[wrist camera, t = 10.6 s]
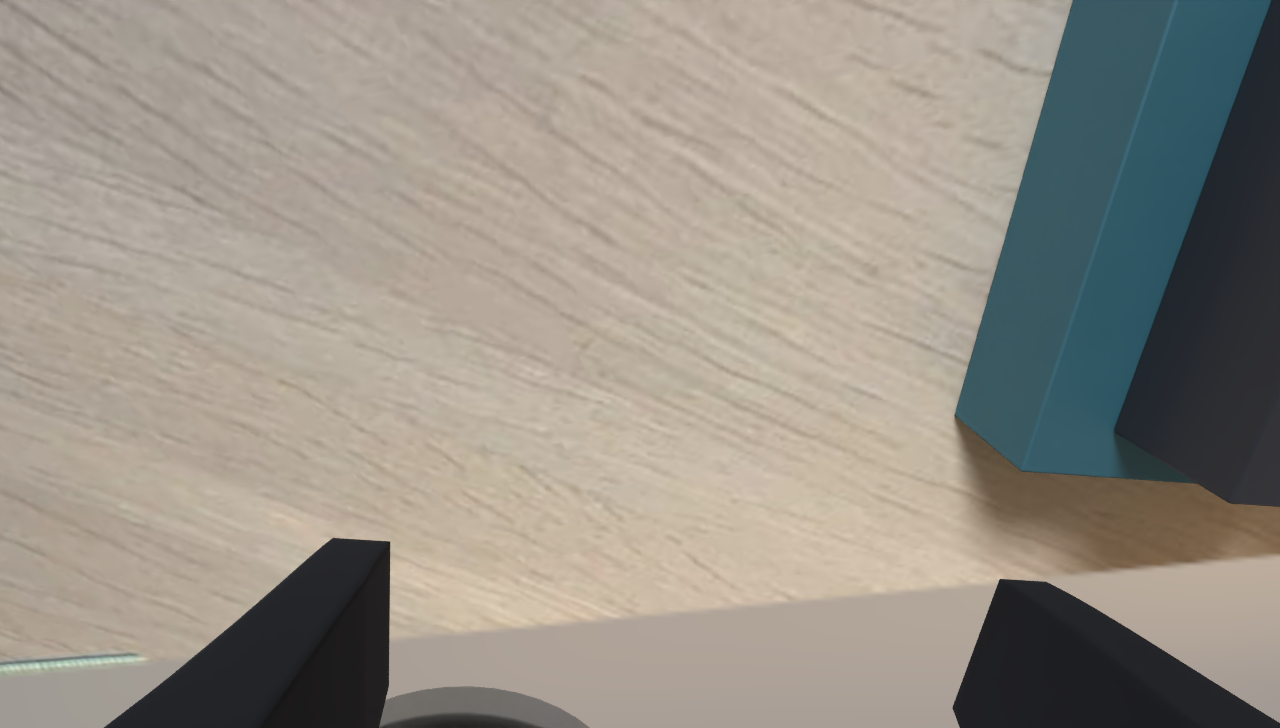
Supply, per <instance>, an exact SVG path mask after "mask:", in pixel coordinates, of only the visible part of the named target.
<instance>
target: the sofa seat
mask: <svg viewBox="0 0 1280 728" xmlns="http://www.w3.org/2000/svg"><path fill="white" fill-rule="evenodd" d="M1271 1H1272V0H1073V3H1072V7H1071V10H1070V14H1069V17H1068V21H1067V24H1066V28H1065V31H1064V35H1063V38H1062V42H1061V45H1060V49H1059V52H1058V56H1057V59H1056V63H1055V66H1054V70H1053V73H1052V77H1051V80H1050V84H1049V87H1048V91H1047V94H1046V98H1045V101H1044V105H1043V108H1042V112H1041V115H1040V119H1039V122H1038V126H1037V129H1036V133H1035V136H1034V140H1033V143H1032V147H1031V150H1030V154H1029V157H1028V161H1027V164H1026V168H1025V171H1024V175H1023V178H1022V182H1021V185H1020V189H1019V192H1018V196H1017V199H1016V203H1015V206H1014V210H1013V213H1012V217H1011V220H1010V224H1009V227H1008V231H1007V234H1006V238H1005V241H1004V245H1003V248H1002V252H1001V255H1000V259H999V262H998V265H997V269H996V272H995V276H994V279H993V283H992V286H991V290H990V293H989V297H988V300H987V304H986V307H985V311H984V314H983V318H982V321H981V325H980V328H979V332H978V335H977V339H976V342H975V346H974V349H973V353H972V356H971V360H970V363H969V367H968V370H967V374H966V377H965V381H964V384H963V388H962V391H961V395H960V398H959V402H958V405H957V409H956V412H955V416H956V417H957V418H958V419H960V420H961V421H962V422H963V423H964V424H966V425H967V426H968V427H969V428H970V429H972V430H973V431H974V432H975V433H976V434H977V435H979V436H980V437H981V438H982V439H983V440H985V441H986V442H987V443H988V444H989V445H991V446H992V447H993V448H994V449H995V450H997V451H998V452H999V453H1000V454H1001V455H1003V456H1004V457H1005V458H1006V459H1007V460H1009V461H1010V462H1011V463H1012V464H1013V465H1015V466H1016V467H1017V468H1018V469H1019V470H1021V471H1023V472H1038V473H1052V474H1066V475H1081V476H1095V477H1109V478H1124V479H1138V480H1152V481H1166V482H1181V483H1195V484H1198V483H1196V482H1194V481H1193V480H1191V479H1189V478H1188V477H1186V476H1185V475H1183V474H1181V473H1180V472H1178V471H1177V470H1175V469H1173V468H1172V467H1170V466H1168V465H1167V464H1165V463H1164V462H1162V461H1160V460H1159V459H1157V458H1156V457H1154V456H1152V455H1151V454H1149V453H1148V452H1146V451H1144V450H1143V449H1141V448H1139V447H1138V446H1136V445H1135V444H1133V443H1131V442H1130V441H1128V440H1127V439H1125V438H1123V437H1122V436H1120V435H1119V434H1117V433H1115V431H1114V429H1115V426H1116V423H1117V420H1118V418H1119V415H1120V412H1121V410H1122V407H1123V404H1124V401H1125V399H1126V396H1127V393H1128V390H1129V388H1130V385H1131V382H1132V380H1133V377H1134V374H1135V371H1136V369H1137V366H1138V363H1139V361H1140V358H1141V355H1142V352H1143V350H1144V347H1145V344H1146V341H1147V339H1148V336H1149V333H1150V331H1151V328H1152V325H1153V322H1154V320H1155V317H1156V314H1157V312H1158V309H1159V306H1160V303H1161V301H1162V298H1163V295H1164V292H1165V290H1166V287H1167V284H1168V282H1169V279H1170V276H1171V273H1172V271H1173V268H1174V265H1175V262H1176V260H1177V257H1178V254H1179V252H1180V249H1181V246H1182V243H1183V241H1184V238H1185V235H1186V233H1187V230H1188V227H1189V224H1190V222H1191V219H1192V216H1193V213H1194V211H1195V208H1196V205H1197V203H1198V200H1199V197H1200V194H1201V192H1202V189H1203V186H1204V184H1205V181H1206V178H1207V175H1208V173H1209V170H1210V167H1211V164H1212V162H1213V159H1214V156H1215V154H1216V151H1217V148H1218V145H1219V143H1220V140H1221V137H1222V134H1223V132H1224V129H1225V126H1226V124H1227V121H1228V118H1229V115H1230V113H1231V110H1232V107H1233V105H1234V102H1235V99H1236V96H1237V94H1238V91H1239V88H1240V85H1241V83H1242V80H1243V77H1244V75H1245V72H1246V69H1247V66H1248V64H1249V61H1250V58H1251V56H1252V53H1253V50H1254V47H1255V45H1256V42H1257V39H1258V36H1259V34H1260V31H1261V28H1262V26H1263V23H1264V20H1265V17H1266V15H1267V12H1268V9H1269V6H1270V4H1271Z"/></svg>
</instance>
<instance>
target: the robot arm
mask: <svg viewBox="0 0 1280 728" xmlns="http://www.w3.org/2000/svg"><path fill="white" fill-rule="evenodd" d="M389 609H390V542H388V541H372V540H355V539H339V538H332V539H331V540H330V541H329V542H327V543H326V544H325V545H323V546H322V547H321V548H320V549H319V550H317V551H316V552H315V553H314V554H313V555H312V556H310V557H309V558H308V559H307V560H306V561H305V562H304V563H302V564H301V565H300V566H299V567H298V568H297V569H296V570H295V571H293V572H292V573H291V574H290V575H289V576H288V577H287V578H285V579H284V580H283V581H282V582H281V583H280V584H279V585H278V586H276V587H275V588H274V589H273V590H272V591H271V592H270V593H268V594H267V595H266V596H265V597H264V598H263V599H262V600H260V601H259V602H258V603H257V604H256V605H255V606H253V607H252V608H251V609H250V610H249V611H248V612H247V613H245V614H244V615H243V616H242V617H241V618H240V619H239V620H237V621H236V622H235V623H234V624H233V625H231V626H230V627H229V628H228V629H227V630H225V631H224V632H223V633H222V634H221V635H219V636H218V637H217V638H216V639H215V640H213V641H212V642H211V643H210V644H209V645H207V646H206V647H205V648H204V649H203V650H201V651H200V652H199V653H198V654H197V655H195V656H194V657H193V658H192V659H191V660H189V661H188V662H187V663H186V664H185V665H183V666H182V667H181V668H180V669H179V670H177V671H176V672H175V673H174V674H172V675H171V676H170V677H169V678H168V679H166V680H165V681H164V682H163V683H161V684H160V685H159V686H158V687H156V688H155V689H154V690H152V691H151V692H150V693H149V694H147V695H146V696H145V697H144V698H142V699H141V700H139V701H138V702H137V703H135V704H134V705H133V706H132V707H130V708H129V709H128V710H126V711H125V712H124V713H122V714H121V715H120V716H118V717H117V718H116V719H115V720H113V721H112V722H111V723H109V724H108V725H107V726H106V727H104V728H379V724H380V720H381V716H382V712H383V708H384V704H385V700H386V695H387V691H388V687H389ZM953 710H954V713H955V716H956V718H957V721H958V724H959V726H960V728H1280V723H1279V722H1277V721H1275V720H1274V719H1272V718H1270V717H1269V716H1267V715H1265V714H1264V713H1262V712H1261V711H1259V710H1257V709H1256V708H1254V707H1253V706H1251V705H1249V704H1248V703H1246V702H1245V701H1243V700H1241V699H1240V698H1238V697H1237V696H1235V695H1233V694H1232V693H1230V692H1229V691H1227V690H1225V689H1224V688H1222V687H1221V686H1219V685H1217V684H1216V683H1214V682H1213V681H1211V680H1209V679H1208V678H1206V677H1204V676H1203V675H1201V674H1200V673H1198V672H1197V671H1195V670H1193V669H1192V668H1190V667H1188V666H1187V665H1186V664H1184V663H1182V662H1180V661H1179V660H1178V659H1176V658H1174V657H1173V656H1171V655H1170V654H1168V653H1166V652H1165V651H1163V650H1162V649H1160V648H1158V647H1157V646H1155V645H1154V644H1152V643H1150V642H1149V641H1147V640H1146V639H1144V638H1142V637H1141V636H1139V635H1138V634H1136V633H1134V632H1133V631H1131V630H1130V629H1128V628H1126V627H1125V626H1123V625H1121V624H1120V623H1118V622H1117V621H1115V620H1113V619H1111V618H1110V617H1108V616H1107V615H1105V614H1103V613H1102V612H1100V611H1098V610H1097V609H1095V608H1093V607H1091V606H1090V605H1088V604H1086V603H1085V602H1083V601H1081V600H1079V599H1078V598H1076V597H1074V596H1072V595H1070V594H1069V593H1067V592H1065V591H1063V590H1061V589H1059V588H1057V587H1055V586H1053V585H1051V584H1049V583H1047V582H1039V581H1023V580H1007V579H1000V580H999V583H998V585H997V588H996V591H995V594H994V597H993V599H992V602H991V605H990V607H989V610H988V613H987V615H986V618H985V621H984V623H983V626H982V629H981V632H980V634H979V637H978V640H977V643H976V645H975V648H974V651H973V653H972V656H971V659H970V662H969V664H968V667H967V670H966V673H965V675H964V678H963V681H962V683H961V686H960V689H959V692H958V694H957V697H956V700H955V702H954V705H953Z"/></svg>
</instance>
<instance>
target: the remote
mask: <svg viewBox="0 0 1280 728" xmlns="http://www.w3.org/2000/svg"><path fill="white" fill-rule="evenodd" d="M1114 431H1115V433H1117V434H1119V435H1120V436H1122V437H1123V438H1125V439H1127V440H1128V441H1130V442H1131V443H1133V444H1135V445H1136V446H1138V447H1139V448H1141V449H1143V450H1144V451H1146V452H1148V453H1149V454H1151V455H1152V456H1154V457H1156V458H1157V459H1159V460H1160V461H1162V462H1164V463H1165V464H1167V465H1168V466H1170V467H1172V468H1173V469H1175V470H1177V471H1178V472H1180V473H1181V474H1183V475H1185V476H1186V477H1188V478H1189V479H1191V480H1193V481H1194V482H1196V483H1198V484H1199V485H1201V486H1202V487H1204V488H1206V489H1207V490H1209V491H1210V492H1212V493H1214V494H1215V495H1217V496H1218V497H1220V498H1222V499H1223V500H1225V501H1227V502H1228V503H1232V504H1245V505H1260V506H1275V507H1280V0H1272V1H1271V4H1270V6H1269V9H1268V12H1267V15H1266V17H1265V20H1264V23H1263V26H1262V28H1261V31H1260V34H1259V36H1258V39H1257V42H1256V45H1255V47H1254V50H1253V53H1252V56H1251V58H1250V61H1249V64H1248V66H1247V69H1246V72H1245V75H1244V77H1243V80H1242V83H1241V85H1240V88H1239V91H1238V94H1237V96H1236V99H1235V102H1234V105H1233V107H1232V110H1231V113H1230V115H1229V118H1228V121H1227V124H1226V126H1225V129H1224V132H1223V134H1222V137H1221V140H1220V143H1219V145H1218V148H1217V151H1216V154H1215V156H1214V159H1213V162H1212V164H1211V167H1210V170H1209V173H1208V175H1207V178H1206V181H1205V184H1204V186H1203V189H1202V192H1201V194H1200V197H1199V200H1198V203H1197V205H1196V208H1195V211H1194V213H1193V216H1192V219H1191V222H1190V224H1189V227H1188V230H1187V233H1186V235H1185V238H1184V241H1183V243H1182V246H1181V249H1180V252H1179V254H1178V257H1177V260H1176V262H1175V265H1174V268H1173V271H1172V273H1171V276H1170V279H1169V282H1168V284H1167V287H1166V290H1165V292H1164V295H1163V298H1162V301H1161V303H1160V306H1159V309H1158V312H1157V314H1156V317H1155V320H1154V322H1153V325H1152V328H1151V331H1150V333H1149V336H1148V339H1147V341H1146V344H1145V347H1144V350H1143V352H1142V355H1141V358H1140V361H1139V363H1138V366H1137V369H1136V371H1135V374H1134V377H1133V380H1132V382H1131V385H1130V388H1129V390H1128V393H1127V396H1126V399H1125V401H1124V404H1123V407H1122V410H1121V412H1120V415H1119V418H1118V420H1117V423H1116V426H1115V429H1114Z"/></svg>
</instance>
